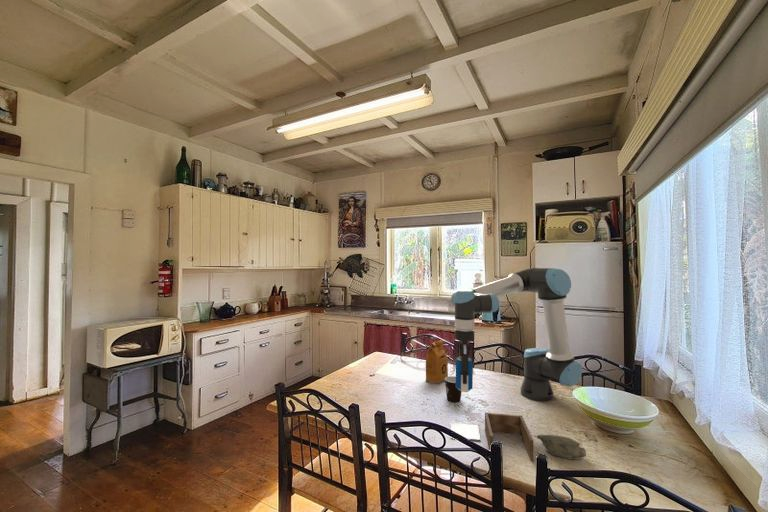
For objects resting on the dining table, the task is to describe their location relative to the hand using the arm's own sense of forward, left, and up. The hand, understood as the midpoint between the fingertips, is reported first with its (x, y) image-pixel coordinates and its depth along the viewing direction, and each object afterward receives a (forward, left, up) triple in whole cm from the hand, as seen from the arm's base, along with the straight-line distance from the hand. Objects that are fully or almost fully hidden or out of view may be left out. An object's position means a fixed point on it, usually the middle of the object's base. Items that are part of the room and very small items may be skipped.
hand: (464, 387), depth 130 cm
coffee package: (+13, -54, -18) cm, 58 cm away
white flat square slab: (0, 0, -17) cm, 17 cm away
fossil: (-33, +7, -18) cm, 38 cm away
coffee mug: (+4, -31, -18) cm, 36 cm away
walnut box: (-15, +6, -17) cm, 24 cm away
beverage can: (0, 0, -1) cm, 1 cm away
